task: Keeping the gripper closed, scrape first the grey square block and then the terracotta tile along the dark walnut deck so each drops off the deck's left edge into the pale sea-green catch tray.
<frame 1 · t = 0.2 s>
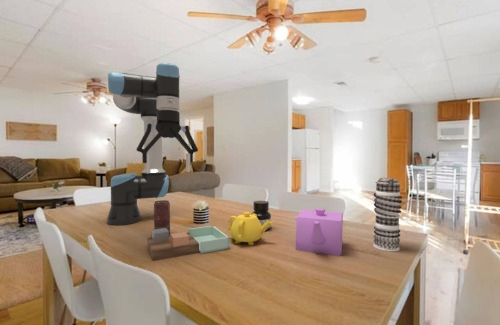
hand: (168, 172, 91), 27 cm above the table, fingers open, 13 cm apart
teapot: (249, 241, 102), on the table
catch tray: (207, 243, 98), on the table
terracotta tile: (179, 243, 89), point 3 cm above the table, touching deck
can: (162, 235, 108), on the table
grey square block: (160, 238, 94), point 3 cm above the table, touching deck
ink bottle: (260, 228, 118), on the table
decorative candle: (386, 247, 95), on the table
deck: (172, 249, 92), on the table
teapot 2: (319, 248, 95), on the table
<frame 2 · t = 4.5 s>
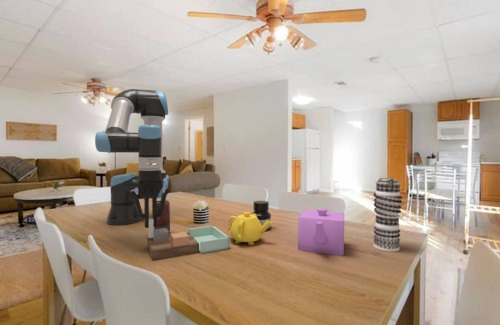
hand: (150, 236, 92), 4 cm above the table, fingers closed
grey square block: (160, 238, 94), point 3 cm above the table, touching gripper
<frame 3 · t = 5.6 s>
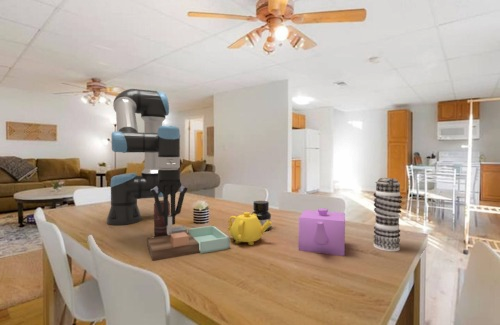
hand: (169, 233, 95), 4 cm above the table, fingers closed
grey square block: (178, 236, 97), point 3 cm above the table, touching deck, gripper
everything else where it was.
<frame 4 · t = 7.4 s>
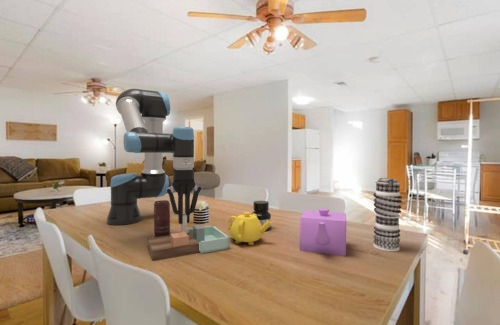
hand: (184, 231, 98), 4 cm above the table, fingers closed
grey square block: (194, 233, 100), point 3 cm above the table, tilted 90°, touching catch tray
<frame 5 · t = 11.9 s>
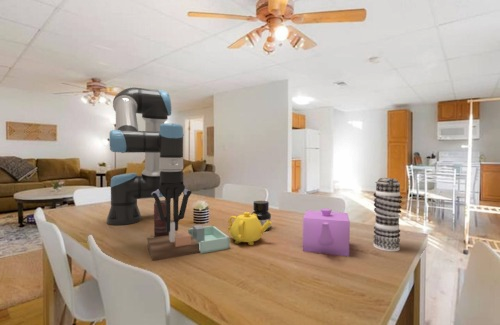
hand: (172, 240, 88), 4 cm above the table, fingers closed
terracotta tile: (181, 243, 90), point 3 cm above the table, touching gripper
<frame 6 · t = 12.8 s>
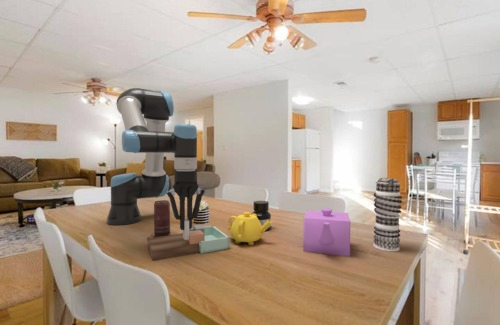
hand: (186, 238, 90), 4 cm above the table, fingers closed
terracotta tile: (195, 241, 92), point 3 cm above the table, touching gripper
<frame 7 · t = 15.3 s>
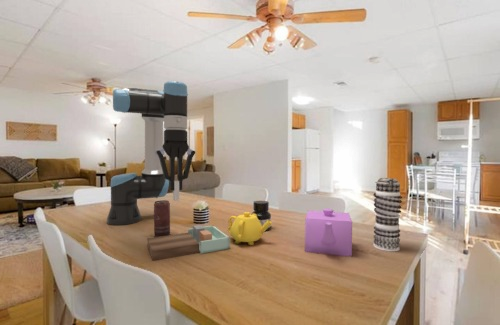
hand: (176, 199, 88), 18 cm above the table, fingers closed
terracotta tile: (201, 240, 93), point 3 cm above the table, tilted 90°, touching catch tray
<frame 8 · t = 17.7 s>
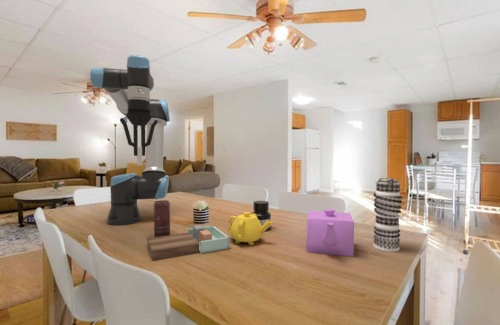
hand: (139, 164, 96), 29 cm above the table, fingers closed
at the end: grey square block inside the target area (6.0 cm from its centre), point 3.1 cm above the table; terracotta tile inside the target area (6.0 cm from its centre), point 3.1 cm above the table; terracotta tile touching catch tray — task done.
